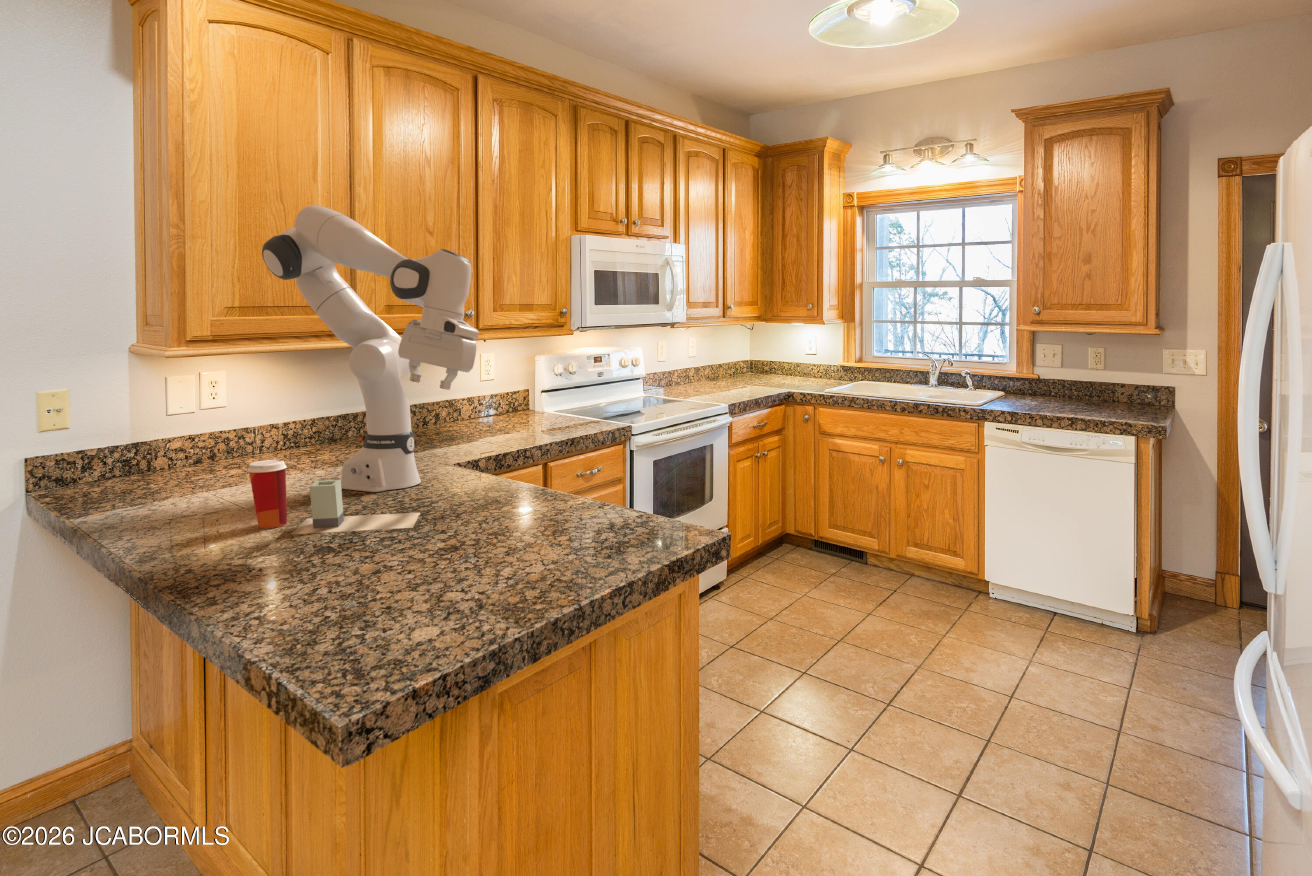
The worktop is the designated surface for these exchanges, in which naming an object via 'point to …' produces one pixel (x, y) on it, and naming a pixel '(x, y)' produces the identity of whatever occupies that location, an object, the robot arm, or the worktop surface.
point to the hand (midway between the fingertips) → (429, 385)
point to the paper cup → (269, 492)
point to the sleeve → (326, 504)
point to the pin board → (363, 523)
